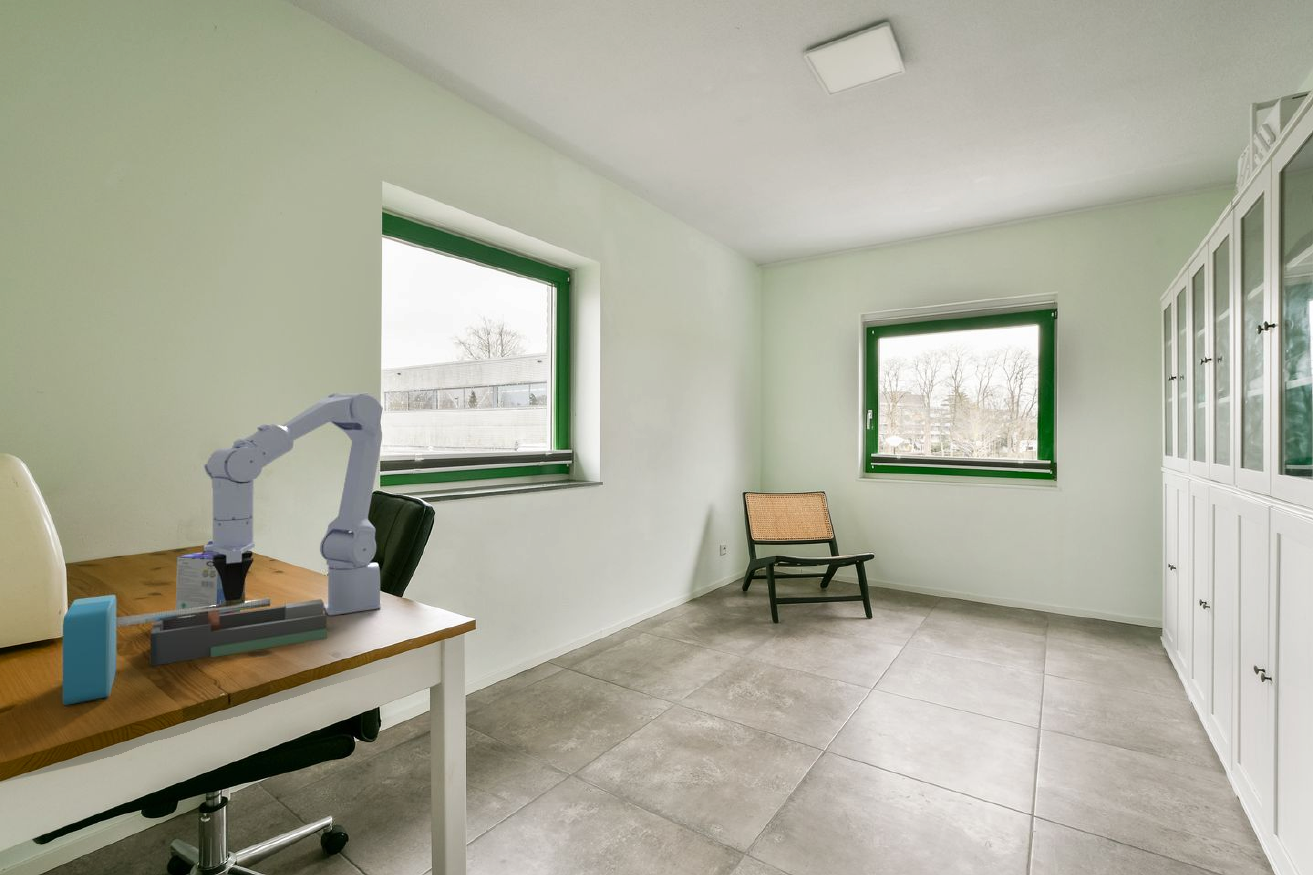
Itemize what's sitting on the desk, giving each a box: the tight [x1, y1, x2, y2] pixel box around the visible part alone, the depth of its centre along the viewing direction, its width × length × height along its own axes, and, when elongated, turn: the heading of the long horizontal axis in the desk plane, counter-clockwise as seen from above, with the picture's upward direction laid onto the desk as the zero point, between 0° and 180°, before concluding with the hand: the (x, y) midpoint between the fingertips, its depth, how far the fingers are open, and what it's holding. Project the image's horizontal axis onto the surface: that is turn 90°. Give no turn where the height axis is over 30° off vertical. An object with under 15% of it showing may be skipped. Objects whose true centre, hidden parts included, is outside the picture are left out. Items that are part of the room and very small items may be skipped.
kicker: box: [116, 582, 271, 631], centre depth 101 cm, size 22×5×9 cm, turn 126°
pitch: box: [150, 598, 328, 667], centre depth 105 cm, size 24×12×5 cm, turn 126°
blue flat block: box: [62, 594, 117, 706], centre depth 85 cm, size 12×4×12 cm, turn 38°
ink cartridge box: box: [175, 540, 241, 615], centre depth 117 cm, size 10×6×14 cm, turn 79°
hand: (233, 597), depth 104 cm, fingers closed on kicker, 3 cm apart
